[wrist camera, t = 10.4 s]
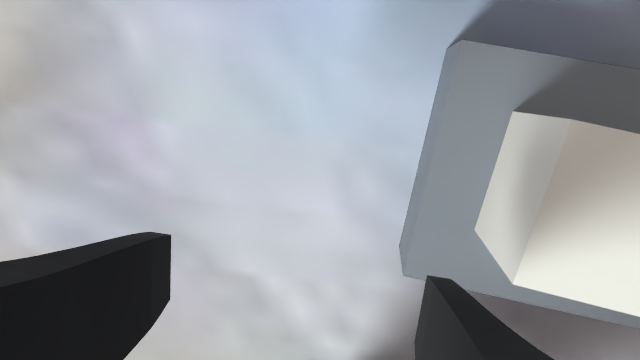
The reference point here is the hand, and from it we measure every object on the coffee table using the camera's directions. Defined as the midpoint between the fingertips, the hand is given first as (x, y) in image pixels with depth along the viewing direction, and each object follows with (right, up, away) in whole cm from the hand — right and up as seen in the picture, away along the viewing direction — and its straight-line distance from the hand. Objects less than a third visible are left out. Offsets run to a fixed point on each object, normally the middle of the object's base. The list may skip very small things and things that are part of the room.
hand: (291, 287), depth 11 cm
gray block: (+11, +3, +9) cm, 14 cm away
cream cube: (+10, +3, +5) cm, 12 cm away
